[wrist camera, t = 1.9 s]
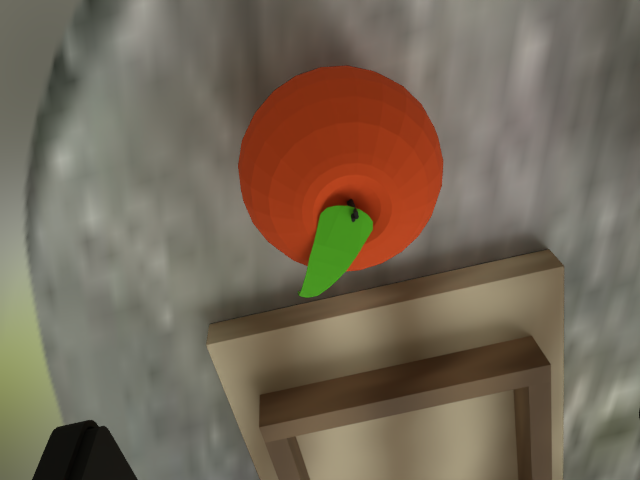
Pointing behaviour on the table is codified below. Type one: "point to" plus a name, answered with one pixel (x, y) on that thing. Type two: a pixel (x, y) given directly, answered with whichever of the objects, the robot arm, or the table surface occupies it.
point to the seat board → (406, 378)
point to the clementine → (340, 171)
